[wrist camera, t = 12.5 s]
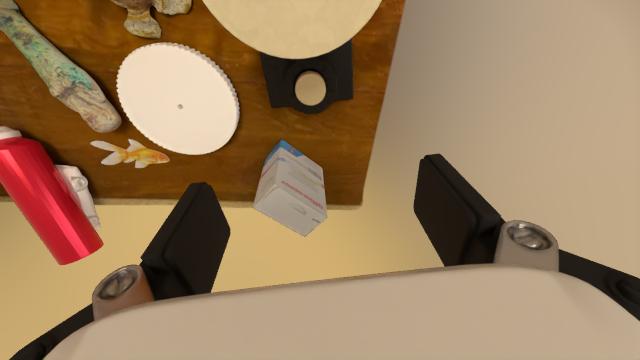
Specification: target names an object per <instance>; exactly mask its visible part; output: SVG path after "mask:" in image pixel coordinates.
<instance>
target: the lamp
mask: <svg viewBox="0 0 640 360" xmlns="http://www.w3.org/2000/svg"><path fill="white" fill-rule="evenodd" d="M202 1H203V2H204V4H205V5H206V6H207V8H208V9H209V10H210V12H211V13H212V14H213V15H214V17H215V18H216V19H217V20H218V21H219V22H220V23H221V24H222V25H223V26H224V27H225V28H226V29H227V30H228V31H229V32H230V33H232V34H233V35H234V36H235V37H237V38H238V39H239V40H241V41H242V42H244V43H245V44H247V45H248V46H250V47H252V48H254V49H256V50H258V51H260V52H263V53H266V54H268V55H271V56H276V57H280V58H287V59H306V58H311V57H316V56H319V55H322V54H325V53H328V52H330V51H332V50H334V49H336V48H338V47H340V46H341V45H343V44H344V43H345V42H347V41H348V40H350V39H351V38H352V37H353V36H354V35H355V34H356V33H358V32H359V31H360V30H361V29H362V27H363V26H364V25H365V24H366V23H367V22H368V21H369V19H370V18H371V17H372V15H373V14H374V12H375V11H376V9H377V8H378V6H379V4H380V3H381V1H382V0H202Z"/></svg>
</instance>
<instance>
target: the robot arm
mask: <svg viewBox="0 0 640 360" xmlns="http://www.w3.org/2000/svg"><path fill="white" fill-rule="evenodd" d="M414 212H415V214H416V216H417V218H418V220H419V221H420V223H421V225H422V227H423V228H424V230H425V232H426V234H427V236H428V237H429V239H430V241H431V243H432V245H433V246H434V248H435V250H436V251H437V253H438V255H439V257H440V259H441V261H442V262H443V264H444V266H445V267H437V268H427V269H416V270H407V271H398V272H389V273H379V274H370V275H361V276H353V277H343V278H334V279H325V280H317V281H308V282H299V283H290V284H281V285H274V286H265V287H257V288H248V289H240V290H231V291H222V292H214V293H211V290H212V287H213V284H214V281H215V278H216V275H217V272H218V269H219V266H220V263H221V260H222V257H223V254H224V251H225V249H226V246H227V243H228V239H229V237H230V227H229V225H228V223H227V220H226V218H225V216H224V213H223V211H222V209H221V206H220V204H219V202H218V200H217V197H216V195H215V193H214V191H213V188H212V187H211V185H207V183H206V182H200V183H192V184H190V185H189V186H188V188H187V189H186V191H185V192H184V194H183V195H182V197H181V198H180V200H179V201H178V203H177V204H176V206H175V207H174V209H173V210H172V212H171V213H170V215H169V216H168V218H167V219H166V221H165V222H164V224H163V225H162V226H161V228H160V229H159V231H158V232H157V234H156V235H155V237H154V238H153V240H152V241H151V243H150V244H149V246H148V247H147V249H146V250H145V252H144V253H143V255H142V256H141V259H142V262H141V264H140V265H128V266H124V267H122V268H119V269H117V270H115V271H114V272H112V273H110V274H109V275H108V276H107V277H105V278H104V279H103V280H102V281H101V282H100V283H99V284H98V285H97V287H96V288H95V290H94V292H93V294H92V304H90V305H89V306H87V307H85V308H84V309H82V310H81V311H79V312H78V313H76V314H74V315H73V316H71V317H70V318H68V319H67V320H65V321H63V322H62V323H60V324H59V325H57V326H56V327H54V328H53V329H51V330H50V331H48V332H46V333H45V334H43V335H42V336H40V337H39V338H37V339H36V340H34V341H32V342H31V343H29V344H28V345H26V346H25V347H24V348H22V349H21V350H19V351H18V352H17V353H16V354H15V355H14V356H13V357H12V358H10V359H9V360H640V279H639V278H637V277H634V276H632V275H629V274H626V273H624V272H621V271H618V270H615V269H612V268H610V267H607V266H604V265H602V264H599V263H596V262H593V261H590V260H588V259H585V258H582V257H579V256H577V255H574V254H571V253H568V252H565V251H563V250H560V249H558V243H557V240H556V239H555V238H554V237H553V235H552V234H551V233H549V232H548V231H547V230H545V229H544V228H542V227H540V226H538V225H535V224H532V223H530V222H526V221H518V220H517V221H516V220H513V221H508V222H505V221H504V220H503V219H502V218H501V215H500V214H499V213H498V212H497V211H496V210H495V209H494V208H493V207H492V206H491V205H490V204H489V203H488V202H487V201H486V200H485V199H484V198H483V197H482V196H481V195H480V194H479V193H478V192H477V191H476V190H475V189H474V188H473V187H472V186H471V185H470V184H469V183H468V182H467V181H466V180H465V179H464V178H463V177H462V176H461V175H460V174H459V172H458V171H457V170H456V169H455V168H454V167H453V166H452V165H451V164H449V162H448V161H447V160H445V158H444V157H443V156H442V155H441V154H432V155H426V156H425V157H424V159H421V160H420V164H419V171H418V178H417V186H416V193H415V199H414Z"/></svg>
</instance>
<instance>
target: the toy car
mask: <svg viewBox="0 0 640 360" xmlns="http://www.w3.org/2000/svg"><path fill="white" fill-rule="evenodd" d="M55 166H56V168H57V169H58V171H59V173H60V174H61V176H62V177H63V179H64V181H65V182H66V184H67V185H68V187H69V189H70V190H71V192H72V194H73V195H74V197H75V198H76V200H77V202H78V203H79V205H80V206H81V208H82V210H83V211H84V213H85V214H86V216H87V218H88V219H89V221H90V222H91V224H92V226H93V227H94V229H95V230H96V231H97V230H99V229H101V226H100V222H99V218H98V216H97V213H96V210H95V207H94V203H93V200H92V197H91V194H90V193H89V191H88V188H87V185H88V181H87V179H86V178H85V177H84V176H82V174H81V172H80V171H79V169H78V168H77V167H74V166H66V165H55Z"/></svg>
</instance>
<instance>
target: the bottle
mask: <svg viewBox="0 0 640 360" xmlns="http://www.w3.org/2000/svg"><path fill="white" fill-rule="evenodd" d="M0 183H1V184H2V186H3V187H4V188H5V190H6V191H7V193H8V194H9V195H10V197H11V198H12V200H13V201H14V202H15V204H16V205H17V206H18V208H19V209H20V211H21V212H22V213H23V215H24V216H25V218H26V219H27V220H28V222H29V223H30V225H31V226H32V227H33V229H34V230H35V232H36V233H37V234H38V236H39V237H40V239H41V240H42V241H43V243H44V244H45V246H46V247H47V248H48V250H49V251H50V253H51V254H52V255H53V257H54V258H55V259H56V261H57V262H58V264H59V265H66V264H69V263H72V262H75V261H78V260H80V259H82V258H84V257H86V256H88V255H90V254H92V253H94V252H95V251H97V250H98V249H100V248H101V247H102V246H103V242H102V240H101V238H100V237H99V235H98V234H97V232H96V230H95V229H94V227H93V226H92V224H91V222H90V221H89V219H88V218H87V216H86V214H85V213H84V211H83V210H82V208H81V206H80V205H79V203H78V202H77V200H76V198H75V197H74V195H73V194H72V192H71V190H70V189H69V187H68V185H67V184H66V182H65V181H64V179H63V177H62V176H61V174H60V173H59V171H58V169H57V168H56V166H55V165H54V163H53V161H52V160H51V158H50V157H49V155H48V153H47V152H46V150H45V149H44V147H43V145H42V144H41V143H40V142H39V141H37V140H33V139H28V138H24V137H22V135H21V133H20V132H19V131H18V130H13V129H10V128H8V127H6V126H0Z"/></svg>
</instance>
